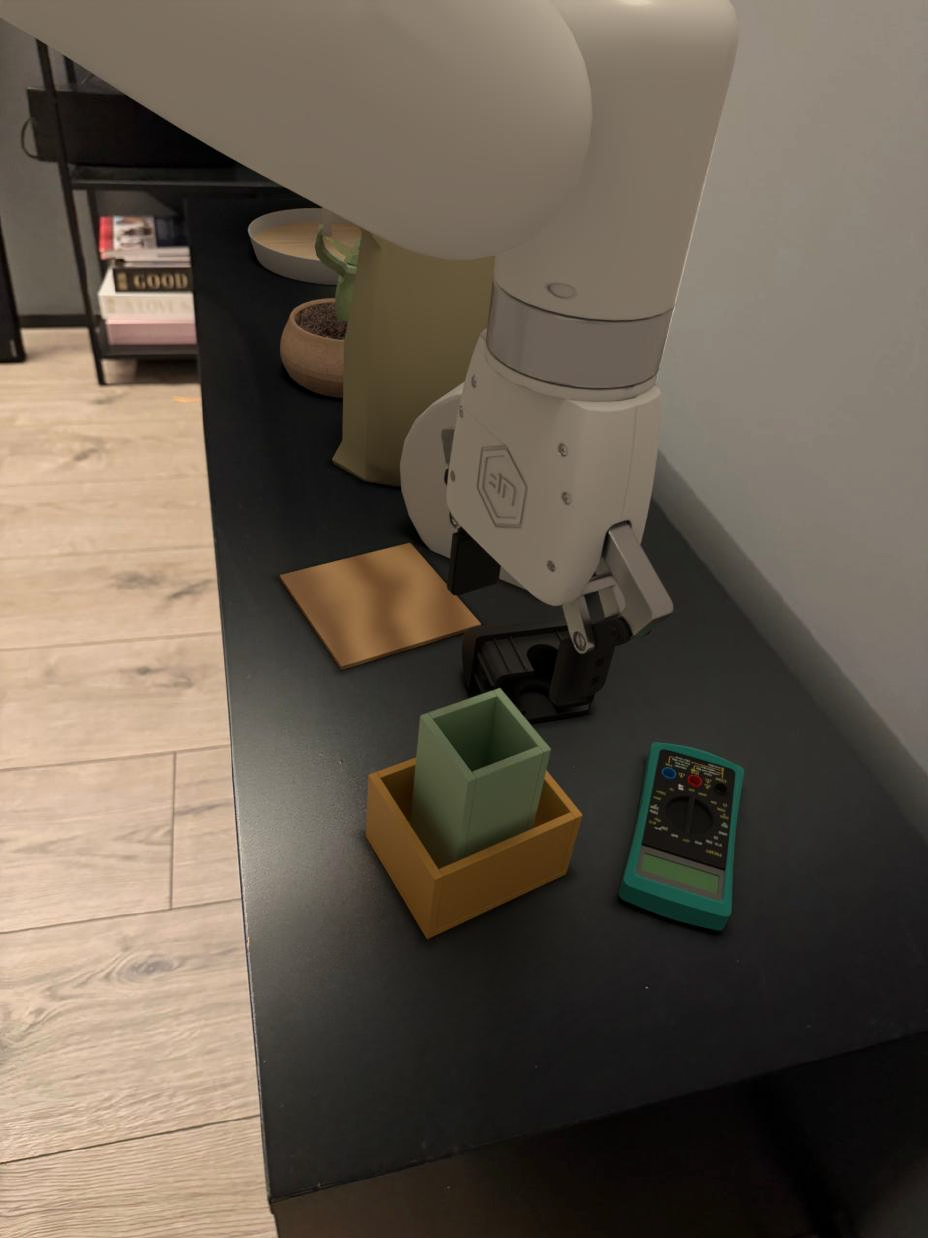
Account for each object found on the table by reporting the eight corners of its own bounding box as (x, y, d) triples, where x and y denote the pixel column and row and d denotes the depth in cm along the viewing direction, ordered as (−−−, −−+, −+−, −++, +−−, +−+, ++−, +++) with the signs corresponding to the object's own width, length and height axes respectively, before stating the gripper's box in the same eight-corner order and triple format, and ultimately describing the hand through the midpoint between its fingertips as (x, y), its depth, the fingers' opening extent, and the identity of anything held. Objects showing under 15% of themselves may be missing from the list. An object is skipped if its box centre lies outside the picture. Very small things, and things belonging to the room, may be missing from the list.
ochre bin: (426, 940, 60) (434, 880, 56) (365, 835, 66) (368, 774, 62) (566, 874, 65) (583, 815, 61) (497, 783, 71) (508, 723, 67)
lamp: (248, 289, 142) (230, -53, 115) (239, 228, 164) (222, -72, 137) (432, 291, 149) (456, -31, 122) (400, 232, 171) (414, -53, 144)
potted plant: (288, 409, 114) (282, 142, 95) (274, 348, 127) (266, 103, 108) (465, 405, 119) (492, 152, 100) (433, 346, 132) (452, 114, 114)
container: (506, 417, 118) (541, 163, 99) (553, 487, 105) (604, 212, 87) (318, 428, 111) (318, 157, 92) (346, 503, 99) (352, 209, 80)
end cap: (563, 658, 83) (576, 599, 78) (594, 714, 78) (610, 654, 73) (457, 673, 80) (464, 612, 76) (482, 731, 75) (492, 670, 70)
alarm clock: (611, 575, 93) (656, 394, 81) (582, 613, 88) (625, 425, 76) (431, 504, 100) (447, 327, 88) (394, 535, 95) (405, 352, 82)
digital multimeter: (737, 781, 73) (748, 756, 71) (721, 939, 62) (733, 914, 60) (646, 755, 75) (654, 730, 73) (614, 905, 63) (623, 880, 61)
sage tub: (450, 899, 62) (468, 781, 54) (408, 833, 65) (419, 715, 58) (524, 866, 64) (551, 749, 57) (480, 804, 68) (500, 687, 61)
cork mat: (341, 670, 79) (341, 666, 78) (279, 579, 88) (279, 574, 87) (480, 627, 85) (481, 623, 85) (410, 546, 94) (410, 542, 93)
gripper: (398, 268, 42) (383, 567, 53) (643, 440, 32) (561, 771, 43) (530, 253, 46) (490, 537, 57) (791, 403, 35) (681, 718, 46)
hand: (521, 637), depth 50 cm, fingers open, 9 cm apart
